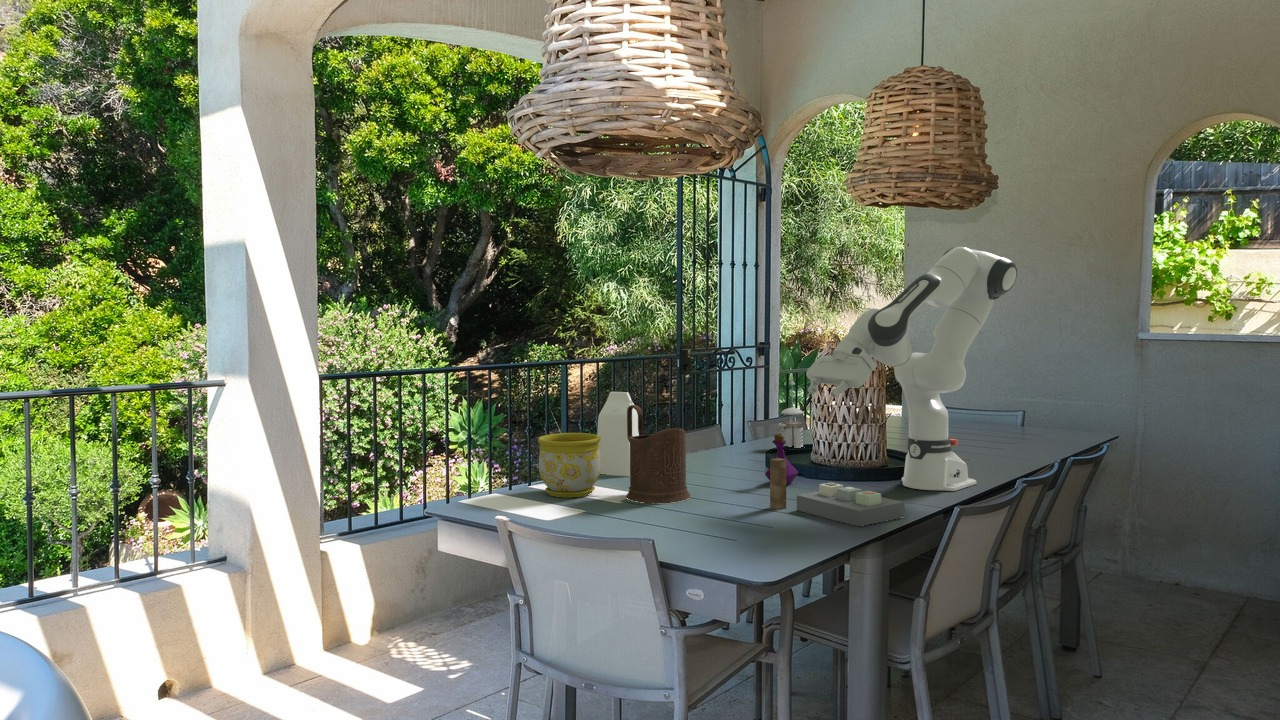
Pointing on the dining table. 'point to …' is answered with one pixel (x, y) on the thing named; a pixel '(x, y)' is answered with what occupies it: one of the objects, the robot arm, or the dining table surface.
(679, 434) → the cup holder
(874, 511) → the keypad
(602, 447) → the milk
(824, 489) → the key
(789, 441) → the french press
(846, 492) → the key mid
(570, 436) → the flowerpot
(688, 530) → the dining table surface
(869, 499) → the key
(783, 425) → the perfume bottle
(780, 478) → the brown wooden bar
